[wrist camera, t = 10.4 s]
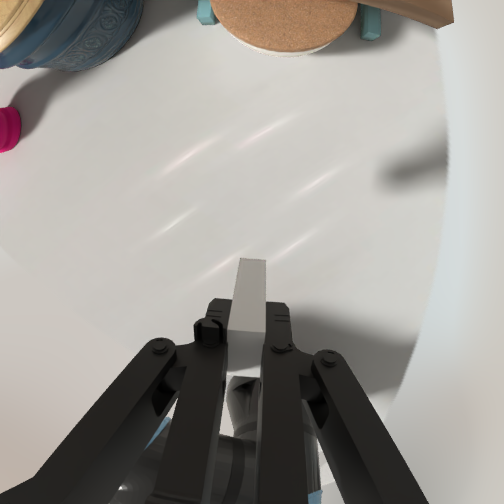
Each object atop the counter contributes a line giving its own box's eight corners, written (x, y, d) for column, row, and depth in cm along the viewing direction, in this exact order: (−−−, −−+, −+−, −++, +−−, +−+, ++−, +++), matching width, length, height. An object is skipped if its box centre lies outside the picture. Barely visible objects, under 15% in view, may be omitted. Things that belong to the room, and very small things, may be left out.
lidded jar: (272, -36, 17) (272, -85, 9) (357, 23, 20) (392, -10, 11) (201, 28, 21) (171, -6, 13) (288, 90, 24) (298, 75, 15)
